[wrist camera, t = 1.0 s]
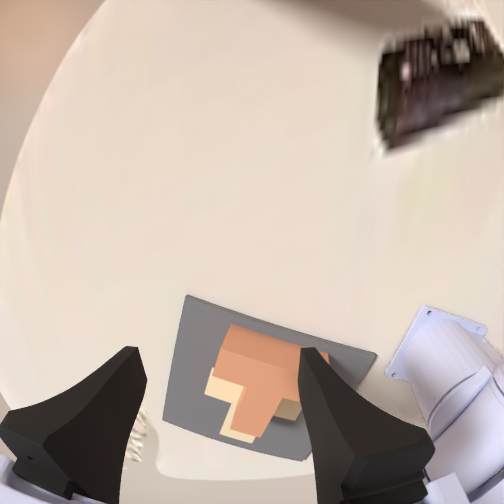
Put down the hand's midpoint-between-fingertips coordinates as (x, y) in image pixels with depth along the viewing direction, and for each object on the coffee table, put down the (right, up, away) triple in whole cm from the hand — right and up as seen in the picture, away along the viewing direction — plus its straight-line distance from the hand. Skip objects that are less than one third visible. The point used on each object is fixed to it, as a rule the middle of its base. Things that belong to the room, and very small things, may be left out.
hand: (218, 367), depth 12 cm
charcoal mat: (+2, -10, +16) cm, 19 cm away
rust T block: (+3, -7, +14) cm, 16 cm away
